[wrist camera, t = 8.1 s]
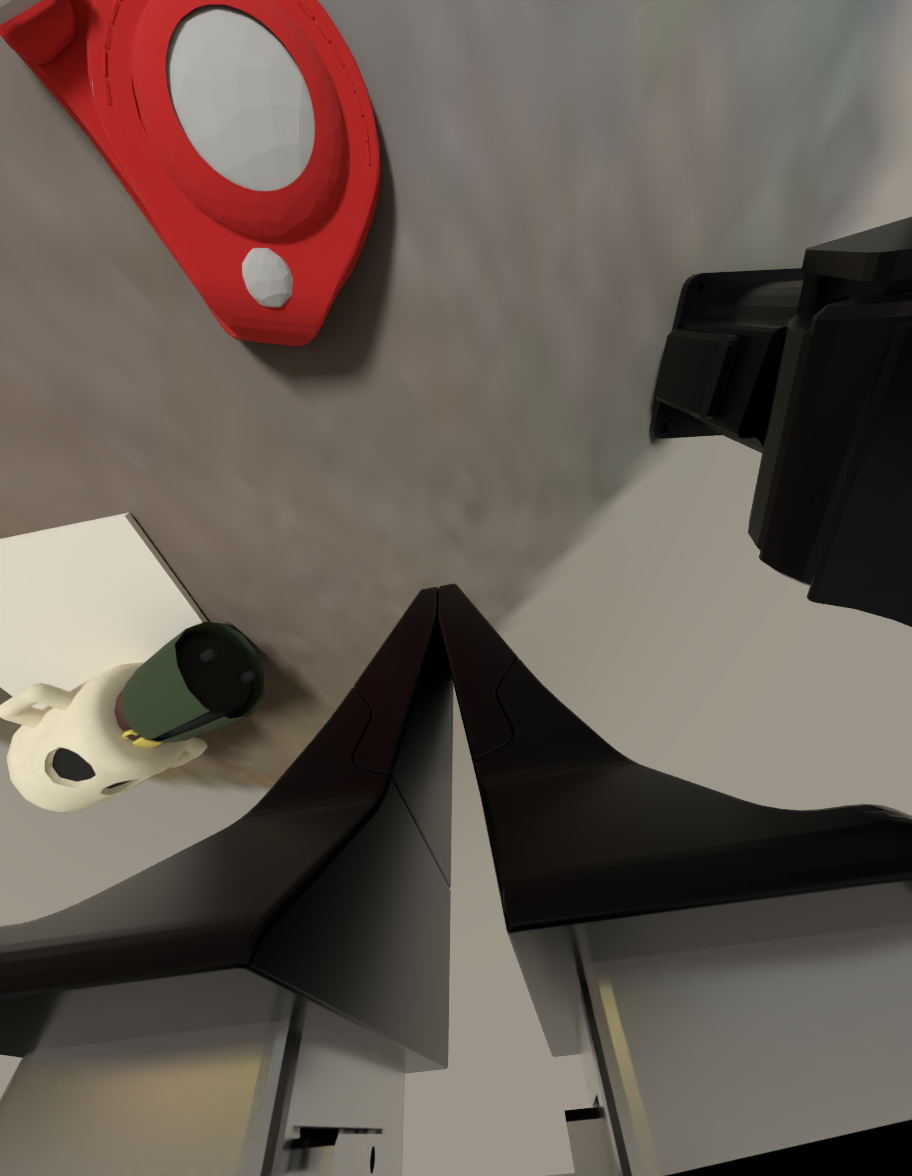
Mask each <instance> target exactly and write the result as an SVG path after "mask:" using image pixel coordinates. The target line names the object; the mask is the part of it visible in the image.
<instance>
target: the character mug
mask: <svg viewBox="0 0 912 1176" xmlns="http://www.w3.org/2000/svg"><path fill="white" fill-rule="evenodd" d="M263 696H264V679H263V670H262V668H261V665H260V662H259V659H258V656H257V653H256V651H255V650H254V649H253V647H252V646H251V645H250V643H249V642H248V640H247V639H246V638H245V636H244V635H243V634H241V633H239V632H238V631H236V630H234V629H233V628H231V627H230V626H228V625H226V624H220V623H212V622H203V623H200V624H197V625H194V626H192V627H189V628H186V629H185V630H184V631H182V632H181V633H180V634H178V635H177V636H176V637H174V638H173V639H172V640H171V641H169V642H168V643H167V644H165V645H164V646H163V647H162V648H161V649H160V650H159V651H157V652H156V653H155V654H154V655H153V656H152V657H150V658H149V659H148V660H147V661H146V662H140V663H130V664H122V665H119V666H115V667H113V668H111V669H109V670H107V671H105V672H103V673H101V674H99V675H97V676H94V677H93V678H91V679H89V680H88V681H86V682H84V683H83V684H81V685H79V686H78V687H76V688H75V689H73V690H71V691H70V692H69V691H66V690H64V689H61V688H58V687H55V686H52V685H49V684H44V683H38V684H34V685H31V686H30V687H28V688H27V689H25V690H23V691H22V692H20V693H19V694H17V695H15V696H14V697H12V698H11V699H9V700H7V701H6V702H4V703H3V704H1V705H0V717H1V718H3V719H5V720H8V721H11V722H15V723H18V724H22V726H21V727H20V728H19V729H18V730H17V732H16V733H15V734H14V735H13V738H12V741H11V745H10V748H9V752H8V756H7V762H8V767H9V773H10V778H11V781H12V783H13V784H14V785H15V787H16V788H17V789H18V791H19V792H20V793H21V794H22V796H23V797H24V798H25V799H26V800H28V801H30V802H31V803H33V804H35V805H37V806H38V807H40V808H44V809H47V810H50V811H59V812H68V811H76V810H83V809H85V808H88V807H90V806H93V805H95V804H98V803H100V802H103V801H105V800H108V799H110V798H112V797H114V796H116V795H118V794H119V793H123V792H125V791H127V790H129V789H131V788H133V787H135V786H137V785H138V784H140V783H142V782H143V781H145V780H146V779H148V778H149V777H151V776H152V775H155V774H159V773H161V772H163V771H165V770H166V769H167V768H169V767H174V768H175V767H178V766H181V765H183V764H185V763H187V762H188V761H190V760H192V759H194V758H196V757H198V756H200V755H201V754H202V753H203V752H204V751H205V750H206V748H207V747H208V746H207V744H206V742H205V741H203V740H202V739H199V738H196V737H197V736H200V735H203V734H205V733H208V732H211V731H214V730H217V729H220V728H222V727H225V726H227V725H229V724H232V723H234V722H236V721H239V720H241V719H243V718H246V717H248V716H249V715H251V714H252V713H253V712H254V711H256V710H257V709H258V708H259V707H261V706H262V701H263ZM37 703H42V704H45V705H47V706H45V707H43V708H42V709H37V708H34V707H31V706H33V705H34V704H37Z"/></svg>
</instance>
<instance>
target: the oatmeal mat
mask: <svg viewBox="0 0 912 1176" xmlns="http://www.w3.org/2000/svg"><path fill="white" fill-rule="evenodd" d="M203 622H208V621H207V619H206V618H205V617H204V615H203V614H202V613H201V611H200V610H199V608H198V607H197V606H196V604H195V603H194V601H193V600H192V599H191V597H190V596H189V595H188V593H187V592H186V590H185V589H184V588H183V586H182V585H181V583H180V582H179V581H178V579H177V578H176V577H175V575H174V574H173V572H172V571H171V570H170V568H169V567H168V566H167V564H166V563H165V561H164V560H163V559H162V557H161V556H160V554H159V553H158V552H157V550H156V549H155V548H154V546H153V545H152V543H151V542H150V541H149V539H148V538H147V536H146V535H145V534H144V532H143V531H142V530H141V528H140V527H139V525H138V524H137V523H136V521H135V520H134V519H133V517H132V516H131V514H130V513H125V514H120V515H115V516H110V517H105V518H100V519H95V520H91V521H86V522H81V523H76V524H71V525H66V526H61V527H56V528H51V529H46V530H41V531H37V532H32V533H27V534H22V535H17V536H12V537H7V538H2V539H0V687H1V688H2V689H4V690H5V691H6V692H8V693H9V694H10V695H12V696H13V697H14V696H15V695H17V694H19V693H20V692H22V691H23V690H25V689H27V688H28V687H30V686H31V685H34V684H38V683H44V684H49V685H52V686H55V687H58V688H61V689H64V690H66V691H69V692H70V691H71V690H73V689H75V688H76V687H78V686H79V685H81V684H83V683H84V682H86V681H88V680H89V679H91V678H93V677H94V676H97V675H99V674H101V673H103V672H105V671H107V670H109V669H111V668H113V667H115V666H119V665H122V664H130V663H140V662H146V661H147V660H148V659H149V658H150V657H152V656H153V655H154V654H155V653H156V652H157V651H159V650H160V649H161V648H162V647H163V646H164V645H165V644H167V643H168V642H169V641H171V640H172V639H173V638H174V637H176V636H177V635H178V634H180V633H181V632H182V631H184V630H185V629H186V628H189V627H192V626H194V625H197V624H200V623H203ZM45 706H47V705H45V704H42V703H37V704H34V705H33V706H31V707H34V708H37V709H42V708H43V707H45Z"/></svg>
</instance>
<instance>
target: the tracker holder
mask: <svg viewBox="0 0 912 1176" xmlns="http://www.w3.org/2000/svg"><path fill="white" fill-rule="evenodd" d="M0 35H1V37H2V38H3V39H4V40H5V41H6V43H7V44H8V45H9V46H10V47H11V48H12V49H13V50H14V51H15V52H16V53H17V54H18V55H19V56H20V57H21V58H22V60H23V61H24V62H25V63H26V64H27V65H28V67H29V68H30V69H31V70H32V71H33V72H34V73H35V75H36V76H37V77H38V78H39V79H40V80H41V82H42V83H43V84H44V85H45V86H46V87H47V89H48V90H49V91H50V92H51V93H52V94H53V96H54V97H55V98H56V99H57V100H58V101H59V102H60V104H61V105H62V106H63V107H64V108H65V109H66V111H67V112H68V113H69V114H70V115H71V116H72V118H73V119H74V120H75V121H76V122H77V124H78V125H79V126H80V127H81V128H82V130H83V131H84V132H85V133H86V135H87V136H88V137H89V138H90V140H91V141H92V142H93V144H94V145H95V147H96V148H97V150H98V151H99V152H100V154H101V155H102V157H103V158H104V159H105V161H106V162H107V164H108V165H109V166H110V168H111V169H112V171H113V172H114V174H115V175H116V176H117V178H118V179H119V181H120V182H121V183H122V185H123V186H124V188H125V189H126V190H127V192H128V193H129V195H130V196H131V197H132V199H133V200H134V202H135V203H136V205H137V206H138V207H139V209H140V210H141V212H142V213H143V214H144V216H145V217H146V219H147V220H148V221H149V223H150V224H151V226H152V227H153V229H154V230H155V231H156V233H157V234H158V236H159V237H160V238H161V240H162V241H163V243H164V244H165V245H166V247H167V248H168V250H169V251H170V252H171V254H172V255H173V257H174V258H175V260H176V261H177V262H178V264H179V265H180V267H181V268H182V269H183V271H184V272H185V274H186V275H187V276H188V278H189V279H190V281H191V282H192V284H193V285H194V286H195V288H196V289H197V291H198V292H199V293H200V295H201V297H202V298H203V300H204V301H205V303H206V304H207V306H208V307H209V309H210V310H211V312H212V313H213V315H214V317H215V318H216V319H217V321H218V322H219V323H220V325H221V326H222V328H223V329H224V330H225V331H226V332H227V333H228V334H229V335H230V336H231V337H233V338H235V339H237V340H244V341H253V342H261V343H270V344H279V345H288V346H296V347H297V346H302V345H305V344H308V343H309V342H310V341H311V340H313V339H314V338H315V337H316V335H317V334H318V332H319V330H320V328H321V326H322V325H323V323H324V321H325V319H326V316H327V314H328V312H329V310H330V307H331V305H332V303H333V301H334V299H335V298H336V296H337V294H338V293H339V291H340V290H341V288H342V286H343V285H344V283H345V282H346V281H347V280H348V278H349V276H350V274H351V272H352V271H353V269H354V267H355V265H356V263H357V260H358V258H359V255H360V253H361V250H362V247H363V245H364V242H365V240H366V237H367V234H368V232H369V229H370V226H371V222H372V218H373V215H374V211H375V208H376V204H377V199H378V194H379V187H380V179H381V165H380V148H379V140H378V134H377V129H376V123H375V118H374V113H373V108H372V104H371V101H370V98H369V95H368V92H367V89H366V86H365V83H364V81H363V78H362V76H361V73H360V71H359V68H358V66H357V63H356V61H355V59H354V57H353V55H352V53H351V51H350V50H349V48H348V46H347V44H346V43H345V41H344V39H343V37H342V36H341V34H340V32H339V31H338V29H337V27H336V26H335V24H334V23H333V21H332V20H331V18H330V17H329V15H328V14H327V12H326V11H325V9H324V8H323V7H322V5H321V4H320V3H319V2H318V1H317V0H0Z"/></svg>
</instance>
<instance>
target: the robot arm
mask: <svg viewBox="0 0 912 1176" xmlns="http://www.w3.org/2000/svg"><path fill="white" fill-rule="evenodd" d="M697 282H699V284H700V289H699V291H698V293H697V294H696V295H695V296H694V295H693V293H692V290H693V287H694V285H695V284H696V283H697ZM654 395H655V397H656V398H657V399H656V404H655V408H654V412H653V417H652V421H651V425H650V432H651V434H652V435H654V436H655V437H657V438H661V439H663V438H680V437H697V436H713V435H724V436H726V437H728V438H730V439H732V440H735V441H737V442H739V443H741V444H744V445H746V446H748V447H750V448H752V449H754V450H756V451H759V452H761V453H762V458H761V464H760V469H759V473H758V479H757V484H756V489H755V494H754V500H753V504H752V509H751V515H750V520H749V530H748V533H749V535H750V536H751V538H752V540H753V541H754V543H755V545H756V546H757V548H759V549H760V550H761V551H760V555H759V558H760V560H762V561H763V562H764V563H766V564H767V565H769V566H771V567H772V568H773V569H775V570H776V571H778V572H779V573H781V574H782V575H785V576H787V577H789V578H791V579H794V580H796V581H798V582H800V583H802V584H806V585H808V586H810V589H809V592H808V595H807V598H808V599H809V600H810V601H813V602H816V603H822V604H829V605H835V606H840V607H846V608H853V609H857V610H860V611H864V612H867V613H871V614H875V615H878V616H882V617H885V618H889V619H892V620H895V621H898V622H901V623H903V624H906V625H908V626H911V627H912V217H909V218H906V219H902V220H899V221H896V222H893V223H889V224H886V225H883V226H880V227H876V228H873V229H869V230H866V231H863V232H860V233H856V234H853V235H850V236H846V237H843V238H840V239H837V240H833V241H830V242H827V243H823V244H820V245H817V246H813V247H810V248H807V249H806V251H805V256H804V261H803V266H802V268H797V269H778V270H758V271H738V272H718V273H700V274H695V275H692V276H691V277H689V278H688V279H687V280H686V282H685V283H684V285H683V288H682V291H681V295H680V299H679V304H678V308H677V312H676V317H675V321H674V325H673V330H672V331H671V333H670V334H669V335H668V336H667V340H666V345H665V349H664V354H663V358H662V362H661V367H660V371H659V376H658V380H657V385H656V389H655V393H654ZM662 423H665V427H664V429H663V430H662V431H659V427H660V425H661V424H662ZM453 684H454V688H455V692H456V696H457V700H458V704H459V708H460V712H461V716H462V720H463V724H464V729H465V733H466V737H467V741H468V745H469V749H470V754H471V757H472V762H473V765H474V770H475V774H476V779H477V783H478V787H479V791H480V796H481V801H482V806H483V811H484V816H485V821H486V826H487V831H488V837H489V842H490V847H491V851H492V857H493V862H494V867H495V872H496V877H497V882H498V887H499V892H500V897H501V903H502V908H503V913H504V918H505V923H506V929H507V932H508V935H509V938H510V941H511V944H512V946H513V949H514V952H515V955H516V957H517V960H518V963H519V965H520V968H521V971H522V974H523V976H524V979H525V982H526V985H527V988H528V990H529V993H530V996H531V999H532V1001H533V1004H534V1007H535V1010H536V1012H537V1015H538V1018H539V1021H540V1023H541V1026H542V1029H543V1032H544V1034H545V1037H546V1040H547V1042H548V1045H549V1048H550V1051H551V1054H552V1056H555V1057H557V1056H566V1055H575V1054H581V1059H582V1064H583V1069H584V1074H585V1079H586V1083H587V1088H588V1093H589V1098H590V1103H591V1108H586V1109H576V1110H566V1111H565V1116H566V1122H567V1128H568V1134H569V1140H570V1146H571V1152H572V1158H573V1164H574V1169H575V1173H572V1174H561V1175H551V1176H912V816H911V815H908V814H906V813H903V812H901V811H898V810H896V809H893V808H889V807H886V806H881V805H870V804H860V805H847V806H841V807H833V808H826V809H819V810H803V811H802V810H788V809H778V808H773V807H767V806H762V805H758V804H755V803H751V802H748V801H744V800H741V799H738V798H735V797H732V796H729V795H727V794H724V793H721V792H718V791H715V790H712V789H709V788H706V787H703V786H700V785H697V784H695V783H691V782H689V781H686V780H683V779H680V778H678V777H674V776H672V775H669V774H666V773H663V772H660V771H657V770H654V769H651V768H649V767H646V766H643V765H640V764H638V763H636V762H634V761H632V760H631V759H629V758H627V757H626V756H624V755H623V754H621V753H620V752H618V751H617V750H616V749H614V748H613V747H612V746H611V745H610V744H608V743H607V742H606V741H605V740H604V739H603V738H601V737H600V736H599V735H598V734H597V733H596V732H595V731H593V730H592V729H591V728H590V727H589V726H588V725H586V724H585V723H584V722H583V721H582V720H581V719H580V718H578V716H576V715H575V714H574V713H573V712H572V711H571V710H570V709H568V708H567V707H566V706H565V705H564V704H563V703H562V702H560V701H559V700H558V699H557V698H556V697H555V696H554V695H553V694H552V693H551V692H550V691H548V689H547V688H545V687H544V686H543V685H542V683H541V682H540V681H539V680H538V679H537V678H536V677H535V676H534V675H533V674H532V673H531V671H529V669H528V668H527V667H526V666H525V665H524V664H523V662H522V661H521V660H519V658H518V657H517V655H516V654H515V653H514V652H513V651H512V649H511V648H510V647H509V646H508V645H507V644H506V642H505V641H504V640H503V639H502V638H501V636H500V635H499V634H498V633H497V632H496V631H495V629H494V628H493V627H492V626H491V625H490V623H489V622H488V621H487V620H486V619H485V618H484V616H483V615H482V614H481V613H480V612H479V610H478V609H477V608H476V607H475V606H474V605H473V603H472V602H471V601H470V600H469V599H468V597H467V596H466V595H465V594H464V593H463V592H462V590H461V589H460V588H459V587H458V586H457V585H456V584H449V585H443V586H440V587H439V589H438V588H437V587H433V588H427V589H422V590H421V591H420V592H419V593H418V595H417V596H416V597H415V599H414V600H413V602H412V603H411V605H410V606H409V608H408V609H407V610H406V612H405V613H404V615H403V616H402V618H401V619H400V620H399V622H398V623H397V625H396V626H395V628H394V629H393V630H392V632H391V633H390V635H389V636H388V638H387V639H386V640H385V642H384V643H383V645H382V646H381V648H380V649H379V650H378V652H377V653H376V655H375V656H374V658H373V659H372V660H371V662H370V663H369V665H368V666H367V668H366V669H365V670H364V672H363V673H362V675H361V676H360V678H359V679H358V680H357V682H356V683H355V685H354V688H352V689H351V690H350V692H349V693H348V694H347V696H346V697H345V699H344V700H343V702H342V703H341V704H340V706H339V707H338V708H337V710H336V711H335V712H334V714H333V715H332V716H331V718H330V719H329V720H328V722H327V723H326V724H325V725H324V727H323V728H322V729H321V730H320V731H319V733H318V734H317V735H316V736H315V738H314V739H313V740H312V741H311V742H310V744H309V745H308V746H307V747H306V748H305V749H304V751H303V752H302V753H301V754H300V755H299V756H298V758H297V759H296V760H295V761H294V762H293V763H292V765H291V766H290V767H289V768H288V769H287V770H286V772H285V773H284V774H283V775H282V776H281V777H280V779H279V780H278V781H277V782H276V783H275V784H274V786H273V787H272V788H271V789H270V790H269V791H268V793H267V794H266V795H265V796H264V797H263V798H262V799H261V800H260V801H259V802H258V804H256V805H255V806H254V807H253V808H252V809H251V810H250V811H249V812H248V813H247V814H245V815H244V816H243V817H242V818H241V819H239V820H238V821H236V822H235V823H233V824H232V825H230V826H229V827H227V828H225V829H223V830H221V831H220V832H218V833H216V834H214V835H212V836H210V837H208V838H206V839H204V840H202V841H200V842H198V843H196V844H194V845H192V846H191V847H188V848H186V849H184V850H182V851H181V852H179V853H177V854H175V855H173V856H171V857H169V858H167V859H165V860H163V861H161V862H159V863H157V864H155V865H153V866H151V867H149V868H147V869H146V870H143V871H142V872H140V873H138V874H136V875H134V876H132V877H130V878H128V879H126V880H124V881H122V882H120V883H118V884H116V885H114V886H112V887H110V888H108V889H106V890H104V891H102V892H100V893H98V894H97V895H94V896H92V897H90V898H88V899H86V900H84V901H82V902H80V903H78V904H75V905H73V906H71V907H68V908H66V909H64V910H61V911H59V912H57V913H54V914H51V915H48V916H45V917H42V918H40V919H37V920H33V921H29V922H24V923H20V924H13V925H6V926H0V1055H8V1056H16V1057H22V1060H21V1062H20V1063H19V1065H18V1067H17V1069H16V1071H15V1073H14V1075H13V1076H12V1078H11V1080H10V1082H9V1084H8V1086H7V1088H6V1090H5V1092H4V1093H3V1095H2V1097H1V1099H0V1176H402V1157H403V1123H404V1087H405V1073H413V1072H422V1071H431V1070H439V1069H446V1068H447V1067H448V1030H449V1029H448V1028H449V962H450V961H449V960H450V956H449V955H450V889H449V888H450V886H451V885H450V884H451V815H452V813H451V812H452V742H453V740H452V739H453Z"/></svg>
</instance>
